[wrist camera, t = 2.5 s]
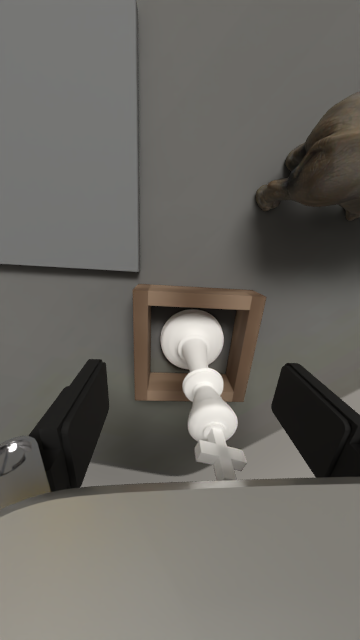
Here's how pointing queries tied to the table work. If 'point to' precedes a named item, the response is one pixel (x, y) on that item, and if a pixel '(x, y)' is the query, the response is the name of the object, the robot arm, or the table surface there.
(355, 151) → the rhino figurine
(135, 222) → the rubber mat
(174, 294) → the collar
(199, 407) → the chess piece
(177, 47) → the table surface
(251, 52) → the table surface
